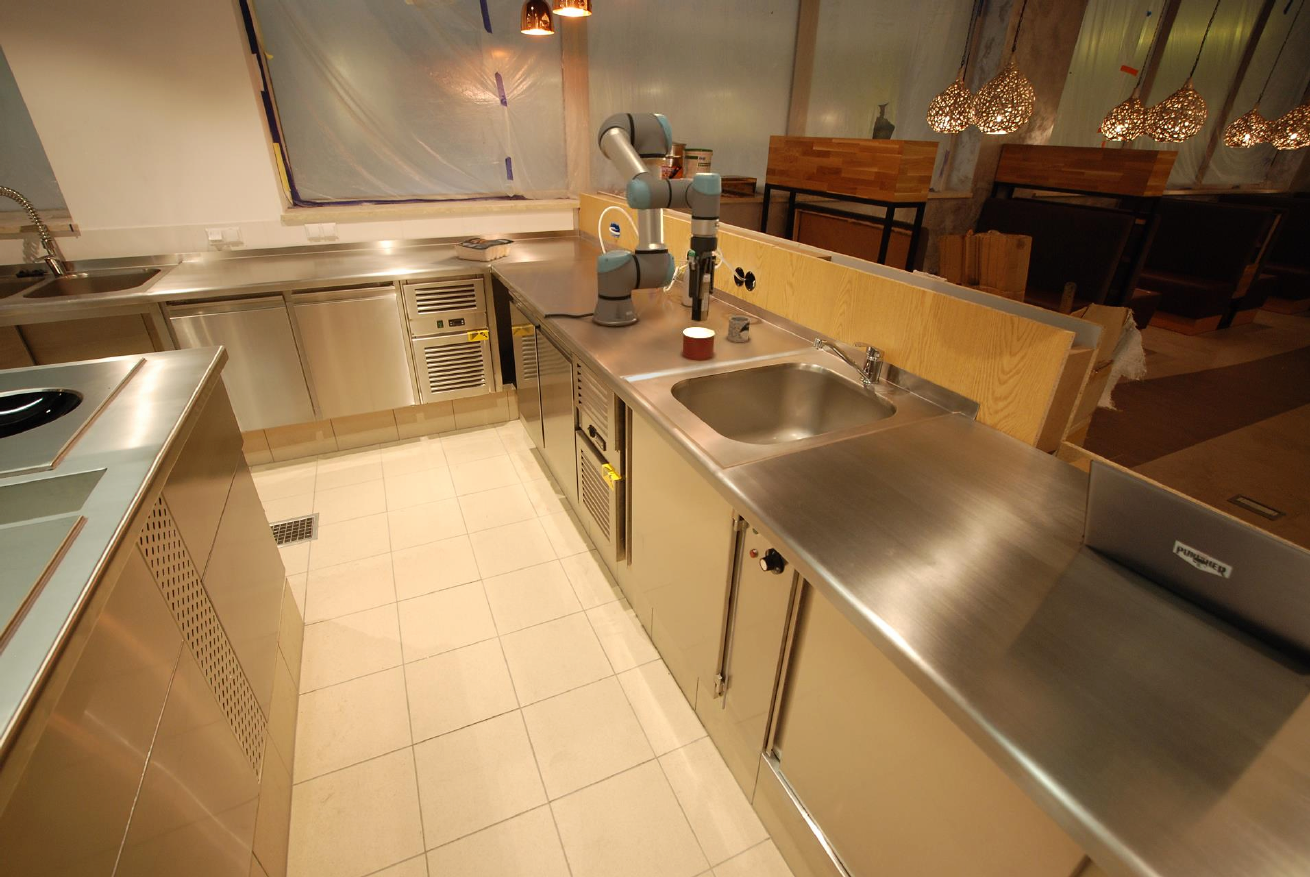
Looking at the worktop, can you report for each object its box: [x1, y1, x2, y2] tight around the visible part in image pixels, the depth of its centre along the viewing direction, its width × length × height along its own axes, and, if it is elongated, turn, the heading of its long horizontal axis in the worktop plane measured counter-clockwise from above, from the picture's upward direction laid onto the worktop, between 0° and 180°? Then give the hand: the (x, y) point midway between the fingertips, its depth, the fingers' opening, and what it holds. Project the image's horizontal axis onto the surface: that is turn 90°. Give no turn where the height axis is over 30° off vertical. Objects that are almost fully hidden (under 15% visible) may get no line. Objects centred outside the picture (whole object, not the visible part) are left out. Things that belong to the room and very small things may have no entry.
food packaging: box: [448, 237, 516, 262], centre depth 294 cm, size 25×8×23 cm
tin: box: [682, 327, 716, 361], centre depth 172 cm, size 9×9×7 cm
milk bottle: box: [682, 250, 695, 307], centre depth 219 cm, size 8×8×20 cm
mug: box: [727, 315, 751, 343], centre depth 187 cm, size 10×7×7 cm, turn 148°
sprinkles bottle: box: [692, 273, 710, 323], centre depth 166 cm, size 5×5×14 cm
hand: (699, 317), depth 169 cm, fingers closed on sprinkles bottle, 4 cm apart
